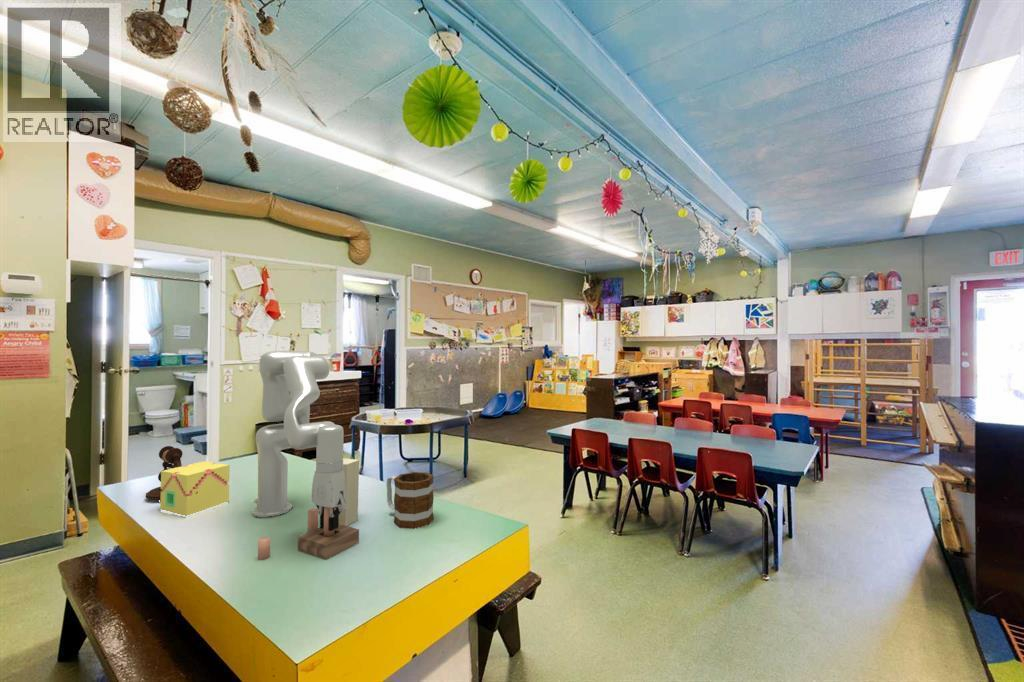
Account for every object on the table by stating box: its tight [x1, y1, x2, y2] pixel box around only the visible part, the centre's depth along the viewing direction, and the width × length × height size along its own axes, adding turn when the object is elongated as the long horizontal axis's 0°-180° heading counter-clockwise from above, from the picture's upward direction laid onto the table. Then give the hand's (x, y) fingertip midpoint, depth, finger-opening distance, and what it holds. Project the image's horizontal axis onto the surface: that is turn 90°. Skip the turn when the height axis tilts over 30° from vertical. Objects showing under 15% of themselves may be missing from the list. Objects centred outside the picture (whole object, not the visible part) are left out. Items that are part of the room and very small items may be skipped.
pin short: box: [257, 536, 271, 561], centre depth 120 cm, size 3×3×5 cm
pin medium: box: [307, 507, 319, 533], centre depth 135 cm, size 3×3×8 cm
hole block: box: [297, 524, 360, 561], centre depth 127 cm, size 12×12×4 cm
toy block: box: [159, 460, 230, 516], centre depth 158 cm, size 15×15×15 cm
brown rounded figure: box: [145, 445, 183, 501], centre depth 170 cm, size 15×15×20 cm
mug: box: [385, 471, 435, 530], centre depth 148 cm, size 20×14×15 cm
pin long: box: [324, 507, 335, 537], centre depth 127 cm, size 3×3×12 cm
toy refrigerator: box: [335, 457, 360, 527], centre depth 145 cm, size 8×7×21 cm
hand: (329, 527), depth 127 cm, fingers closed on pin long, 3 cm apart
